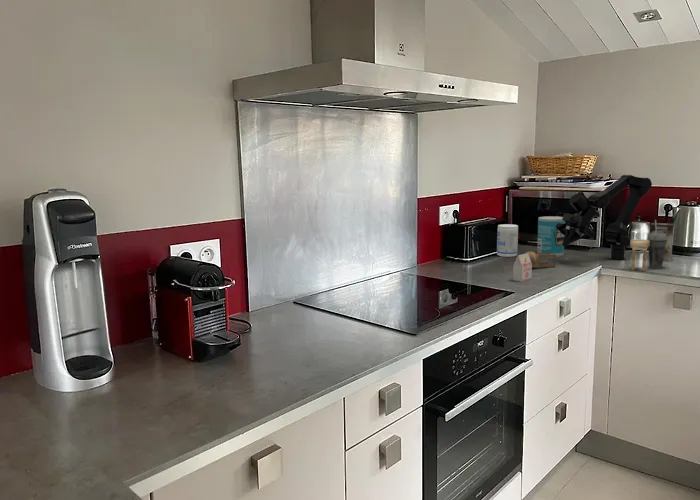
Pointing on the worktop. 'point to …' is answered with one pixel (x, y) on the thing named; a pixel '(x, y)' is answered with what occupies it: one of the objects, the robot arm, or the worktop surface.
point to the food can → (550, 236)
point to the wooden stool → (535, 257)
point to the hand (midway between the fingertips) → (563, 245)
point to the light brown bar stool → (639, 245)
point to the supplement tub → (507, 240)
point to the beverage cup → (656, 248)
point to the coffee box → (668, 232)
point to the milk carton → (522, 268)
